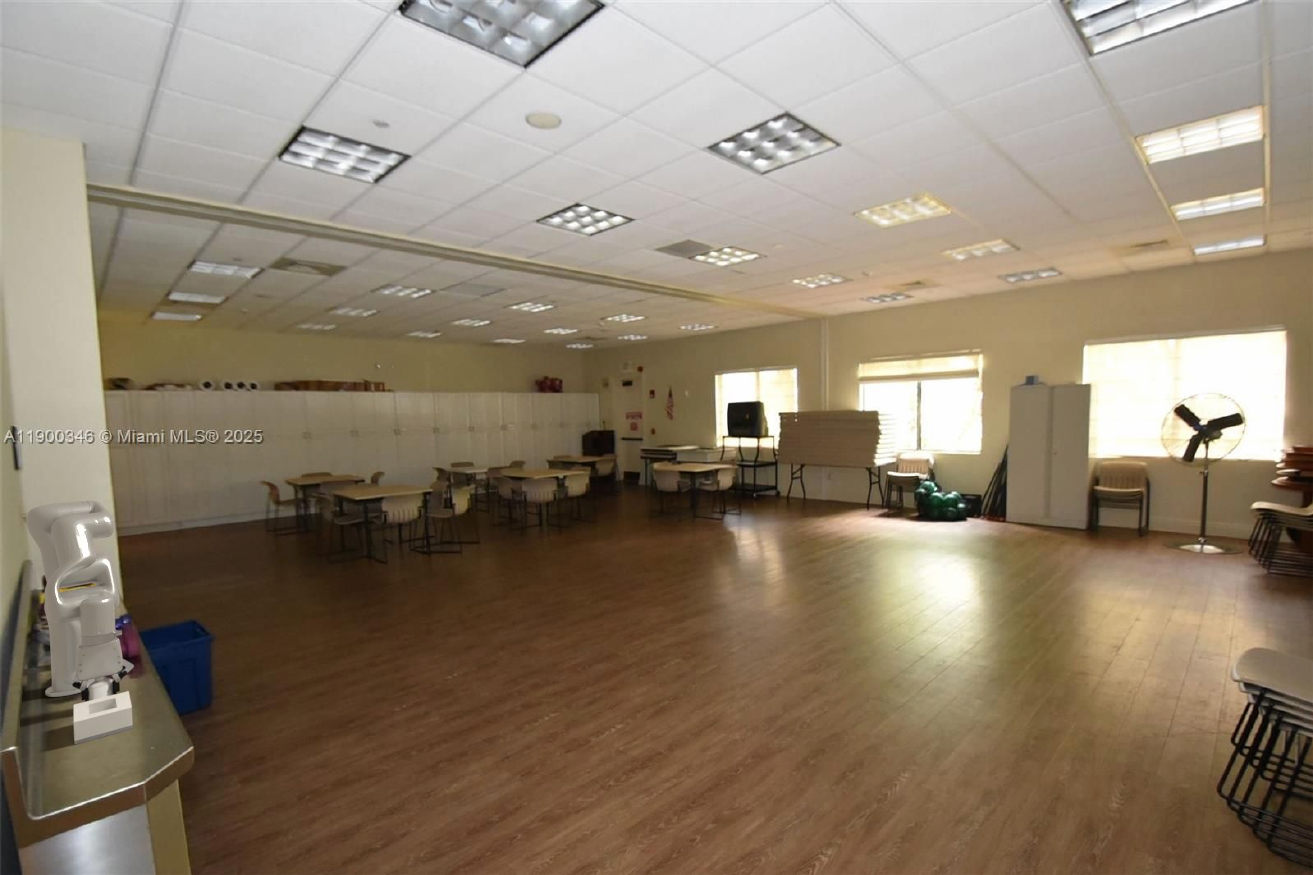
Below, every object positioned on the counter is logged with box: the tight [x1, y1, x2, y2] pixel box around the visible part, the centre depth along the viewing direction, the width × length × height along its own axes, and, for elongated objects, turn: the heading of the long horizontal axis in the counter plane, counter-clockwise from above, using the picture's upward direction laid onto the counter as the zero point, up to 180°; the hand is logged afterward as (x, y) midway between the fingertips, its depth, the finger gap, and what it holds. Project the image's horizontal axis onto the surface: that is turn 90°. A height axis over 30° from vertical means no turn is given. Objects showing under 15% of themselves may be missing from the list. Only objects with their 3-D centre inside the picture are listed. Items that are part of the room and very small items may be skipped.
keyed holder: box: [73, 690, 134, 745], centre depth 167 cm, size 14×12×6 cm
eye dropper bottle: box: [88, 676, 114, 701], centre depth 178 cm, size 4×6×12 cm
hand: (101, 697), depth 178 cm, fingers closed on eye dropper bottle, 5 cm apart
